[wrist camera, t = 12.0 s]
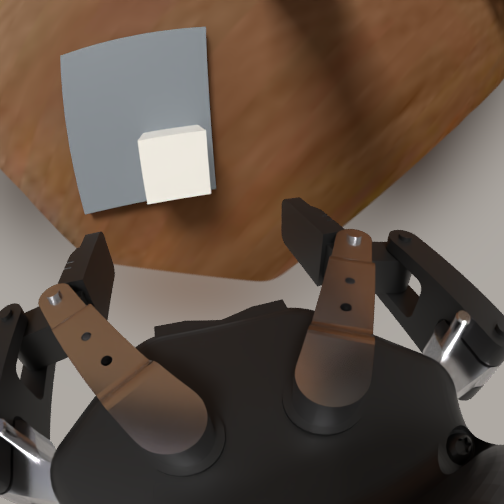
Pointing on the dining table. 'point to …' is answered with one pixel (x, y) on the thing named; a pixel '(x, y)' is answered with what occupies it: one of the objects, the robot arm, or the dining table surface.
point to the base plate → (131, 107)
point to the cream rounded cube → (174, 163)
